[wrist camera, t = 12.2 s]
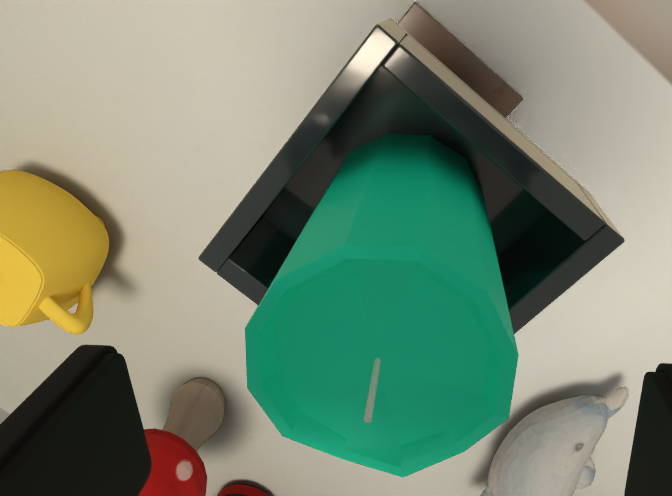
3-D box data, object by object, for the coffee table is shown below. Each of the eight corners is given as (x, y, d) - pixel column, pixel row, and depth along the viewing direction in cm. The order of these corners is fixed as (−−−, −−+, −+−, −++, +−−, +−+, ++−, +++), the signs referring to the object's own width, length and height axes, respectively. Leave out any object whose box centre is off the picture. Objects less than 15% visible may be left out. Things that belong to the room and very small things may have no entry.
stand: (327, 114, 44) (232, 213, 24) (415, 1, 40) (389, 8, 20) (426, 197, 45) (415, 357, 25) (521, 96, 41) (598, 192, 21)
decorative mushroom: (232, 452, 59) (170, 588, 46) (153, 424, 59) (69, 551, 46) (253, 378, 55) (192, 504, 41) (169, 348, 55) (80, 464, 42)
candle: (294, 202, 23) (159, 394, 12) (411, 96, 20) (377, 212, 9) (396, 307, 24) (360, 571, 13) (518, 218, 21) (598, 448, 11)
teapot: (-55, 207, 53) (-166, 255, 43) (-14, 112, 48) (-128, 142, 39) (109, 322, 55) (38, 392, 45) (163, 242, 51) (97, 301, 41)
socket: (239, 213, 24) (196, 259, 20) (390, 17, 20) (377, 23, 16) (415, 351, 25) (410, 422, 21) (589, 192, 21) (626, 241, 17)
